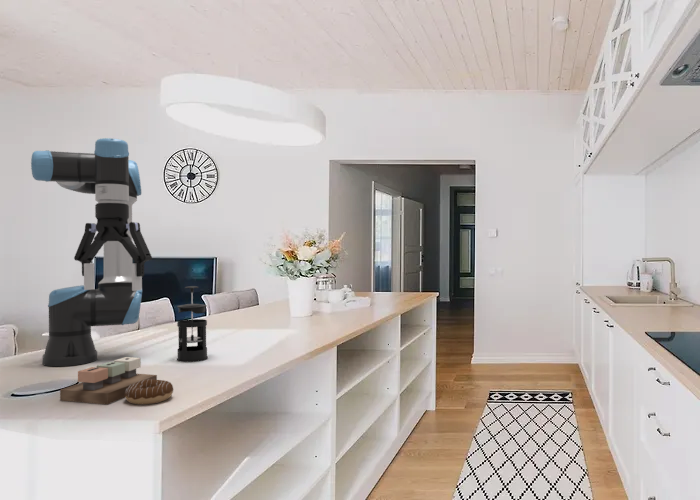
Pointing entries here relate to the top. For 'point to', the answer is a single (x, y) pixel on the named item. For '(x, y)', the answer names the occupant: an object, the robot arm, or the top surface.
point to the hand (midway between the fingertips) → (112, 290)
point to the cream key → (130, 363)
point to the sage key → (113, 368)
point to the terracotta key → (92, 375)
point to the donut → (148, 392)
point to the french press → (197, 351)
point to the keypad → (103, 388)
